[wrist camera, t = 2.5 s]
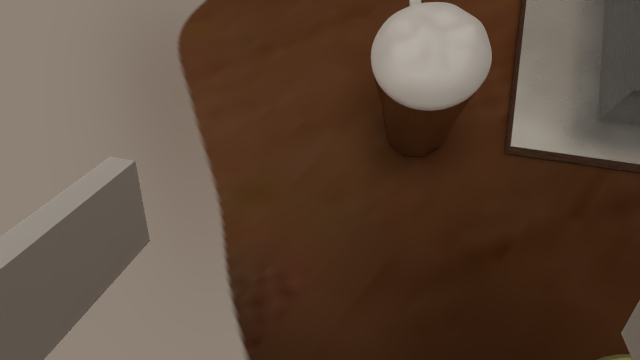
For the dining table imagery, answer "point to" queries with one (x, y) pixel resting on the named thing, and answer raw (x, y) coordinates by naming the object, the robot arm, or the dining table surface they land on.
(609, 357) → the key
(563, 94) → the holder
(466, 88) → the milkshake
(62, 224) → the robot arm
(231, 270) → the dining table surface
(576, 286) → the dining table surface
